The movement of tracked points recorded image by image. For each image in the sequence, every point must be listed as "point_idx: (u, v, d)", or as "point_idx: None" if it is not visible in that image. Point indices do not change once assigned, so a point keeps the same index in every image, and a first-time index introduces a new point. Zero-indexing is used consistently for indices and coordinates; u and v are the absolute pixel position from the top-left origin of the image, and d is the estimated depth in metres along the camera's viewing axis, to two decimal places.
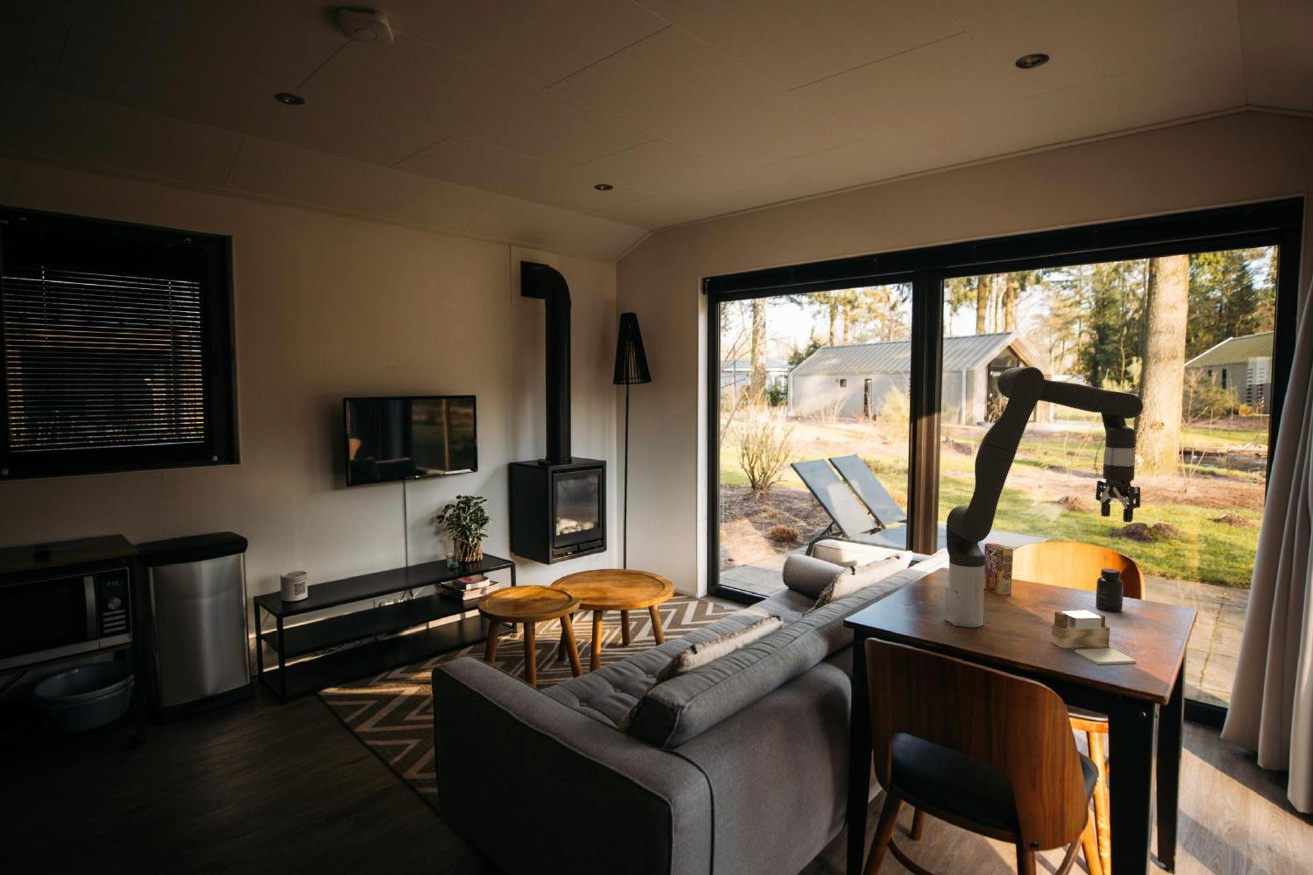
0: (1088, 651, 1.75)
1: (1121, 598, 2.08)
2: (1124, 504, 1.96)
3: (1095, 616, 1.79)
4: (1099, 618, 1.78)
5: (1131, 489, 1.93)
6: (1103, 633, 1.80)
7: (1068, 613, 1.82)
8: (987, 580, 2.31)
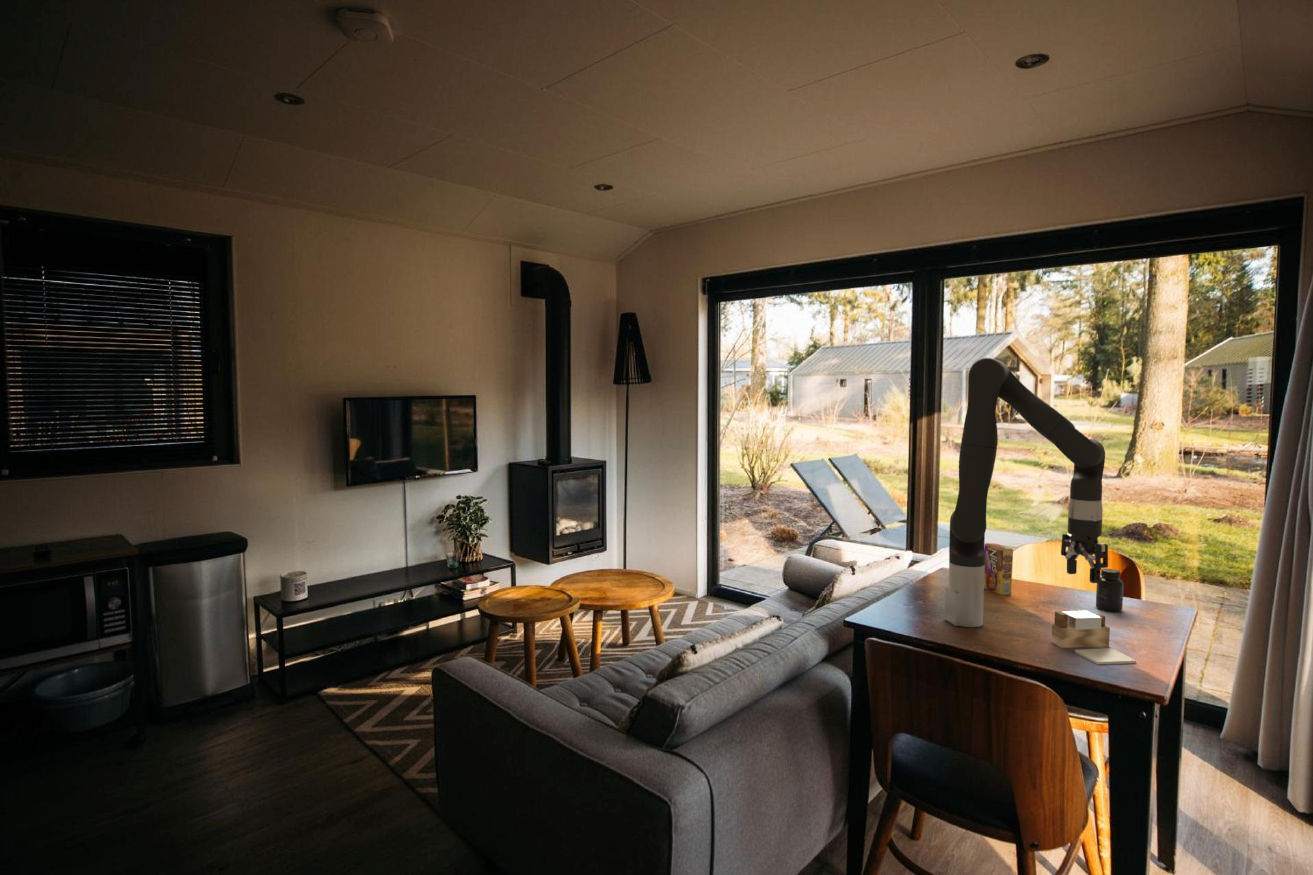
0: (1088, 651, 1.75)
1: (1121, 598, 2.08)
2: (1090, 563, 1.76)
3: (1095, 616, 1.79)
4: (1099, 618, 1.78)
5: (1098, 547, 1.73)
6: (1103, 633, 1.80)
7: (1068, 613, 1.82)
8: (987, 580, 2.31)
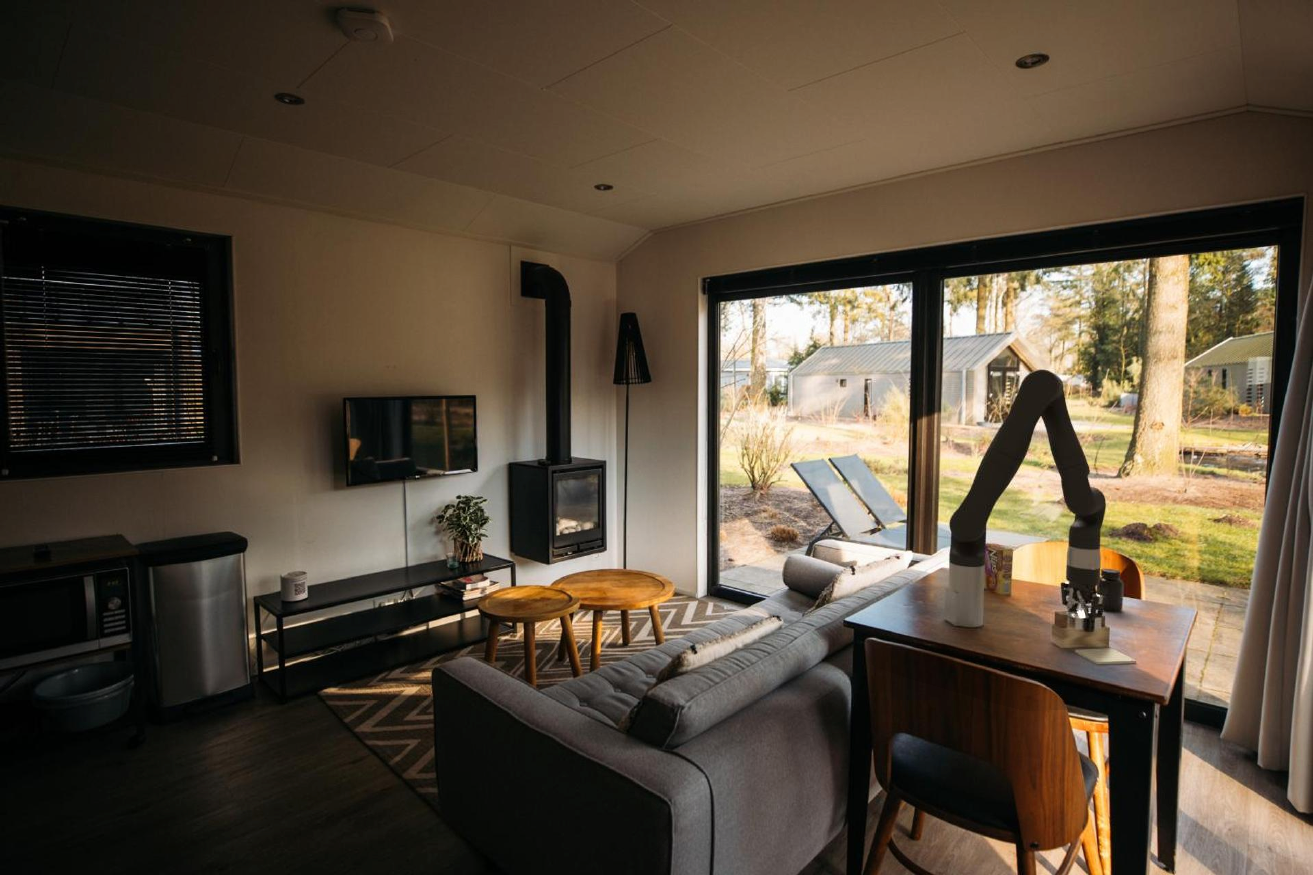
0: (1088, 651, 1.75)
1: (1121, 598, 2.08)
2: (1085, 612, 1.77)
3: None
4: (1099, 618, 1.78)
5: (1095, 599, 1.74)
6: (1103, 633, 1.80)
7: (1068, 613, 1.82)
8: (987, 580, 2.31)
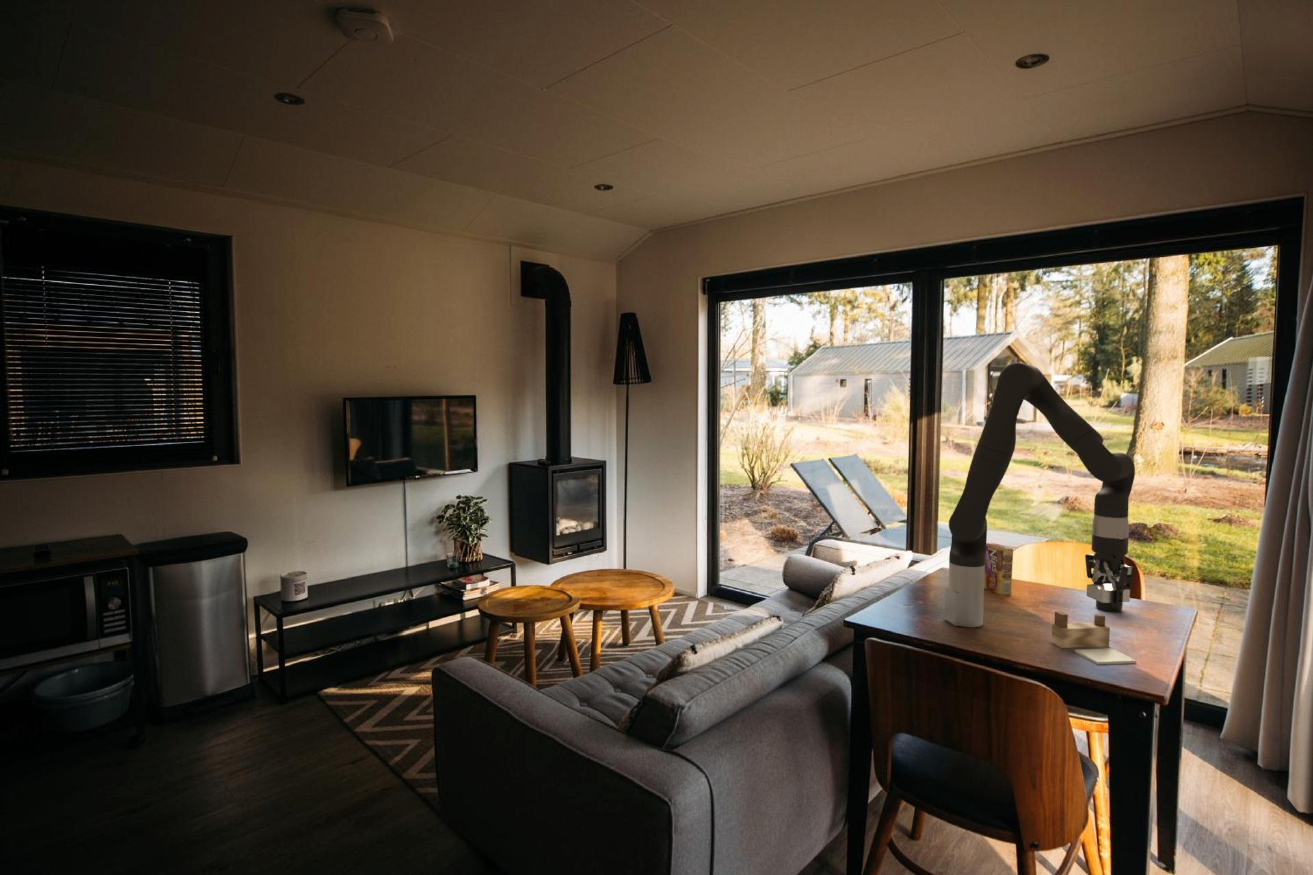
0: (1088, 651, 1.75)
1: None
2: (1113, 584, 1.68)
3: None
4: (1127, 590, 1.69)
5: (1124, 570, 1.65)
6: (1103, 633, 1.80)
7: (1094, 586, 1.72)
8: (987, 580, 2.31)
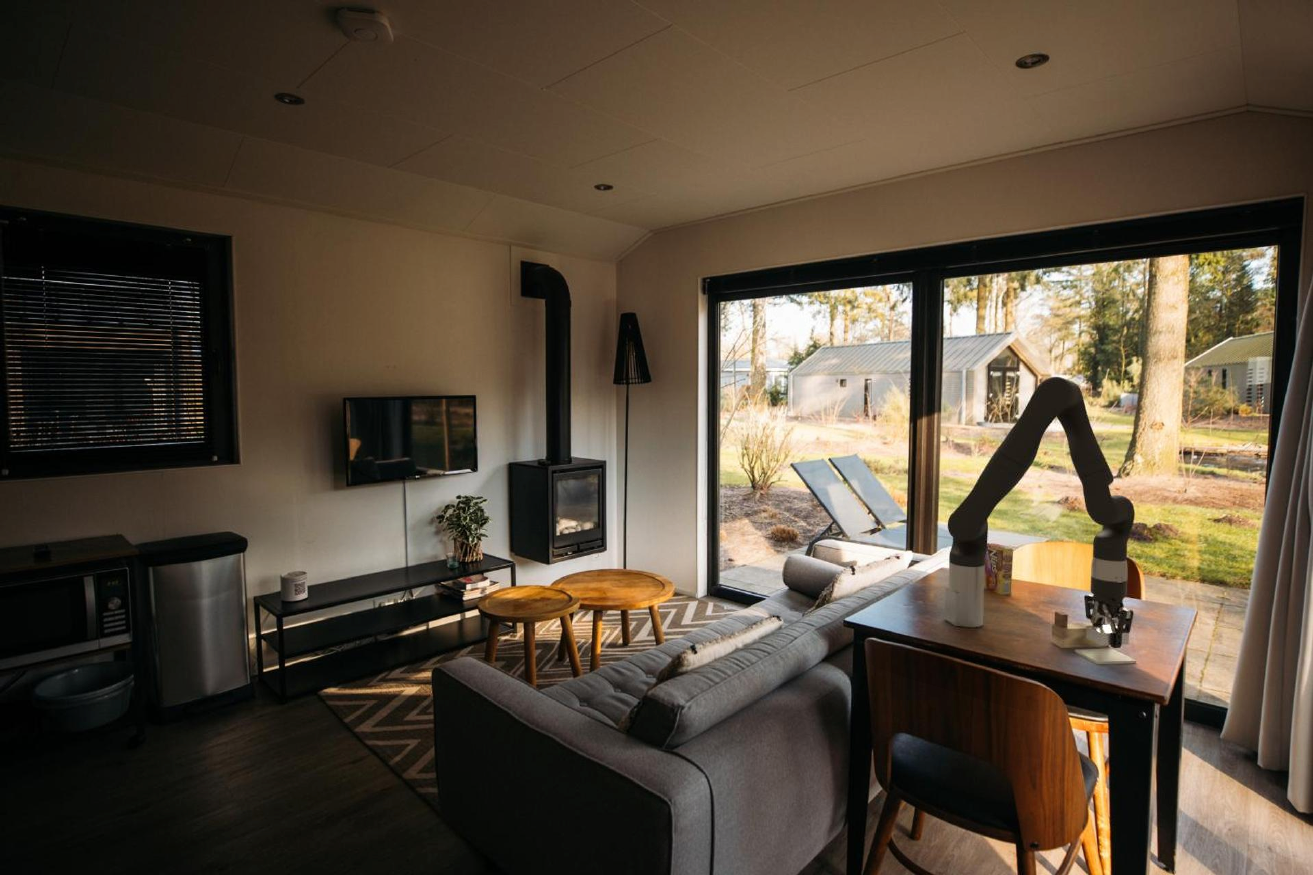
0: (1088, 651, 1.75)
1: None
2: (1112, 627, 1.69)
3: None
4: (1126, 633, 1.70)
5: (1123, 614, 1.65)
6: None
7: (1093, 628, 1.73)
8: (987, 580, 2.31)
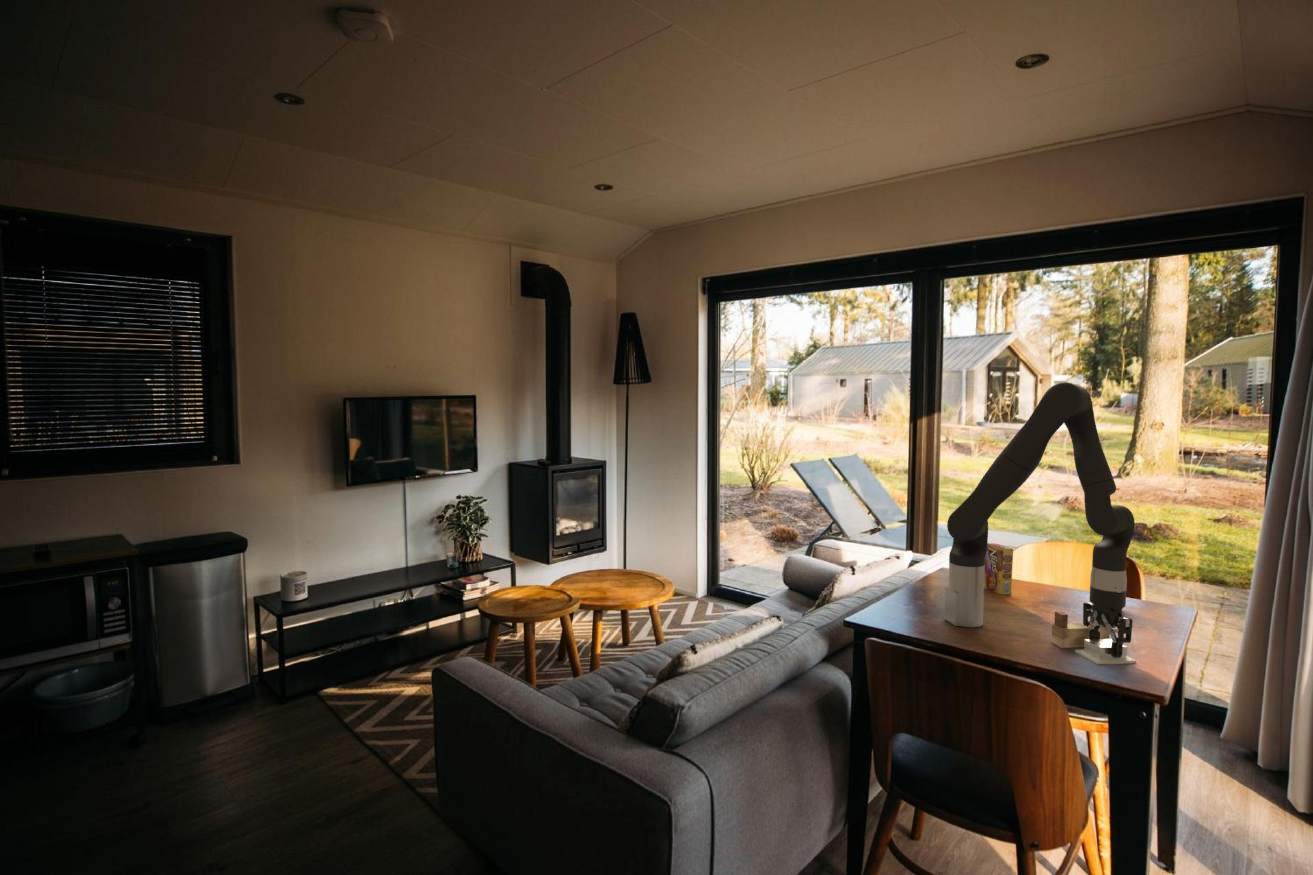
0: None
1: None
2: (1112, 637, 1.68)
3: None
4: (1125, 647, 1.70)
5: (1122, 622, 1.65)
6: (1103, 633, 1.80)
7: (1092, 642, 1.73)
8: (987, 580, 2.31)
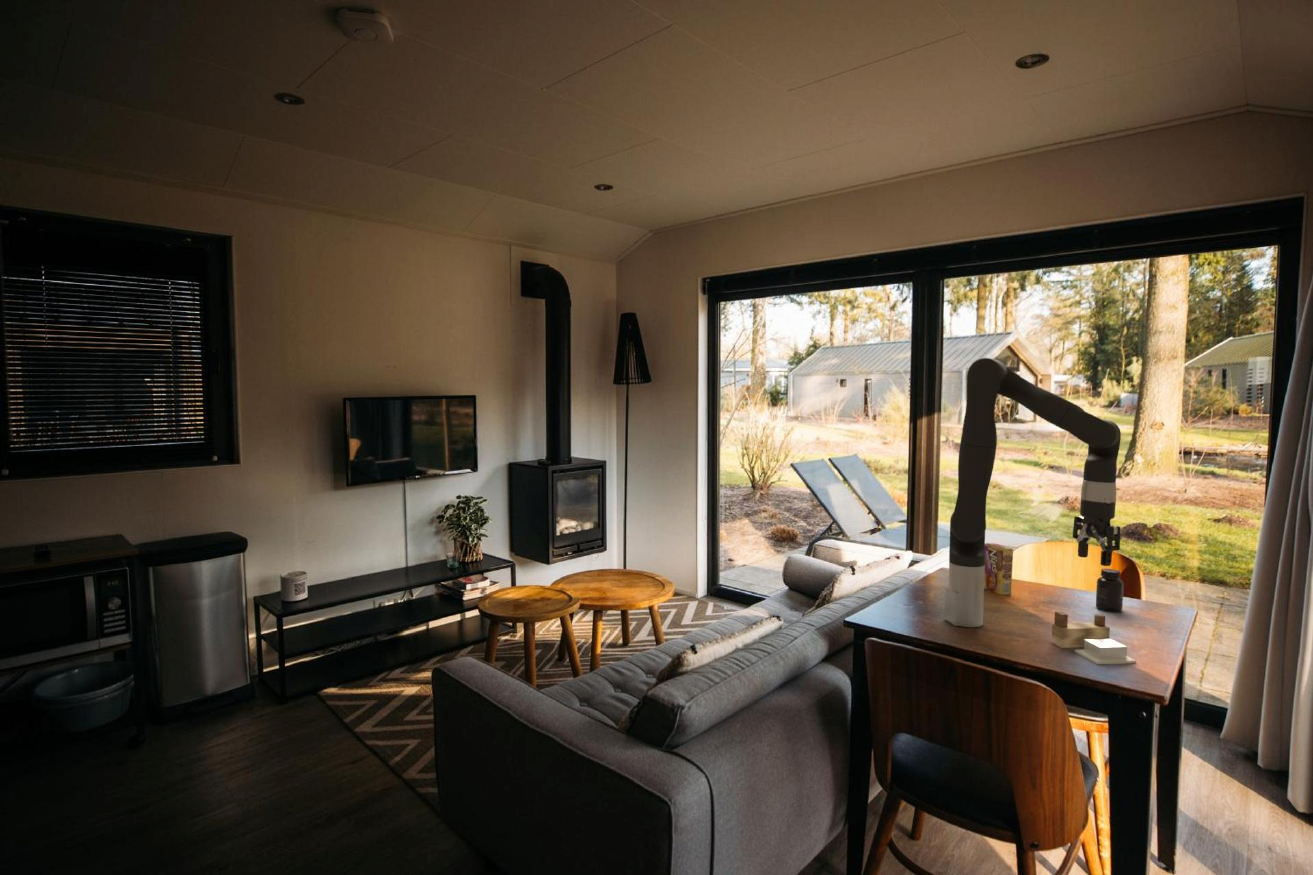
0: None
1: (1121, 598, 2.08)
2: (1102, 545, 1.73)
3: (1120, 645, 1.71)
4: (1125, 647, 1.70)
5: (1110, 529, 1.70)
6: (1103, 633, 1.80)
7: (1092, 642, 1.73)
8: (987, 580, 2.31)
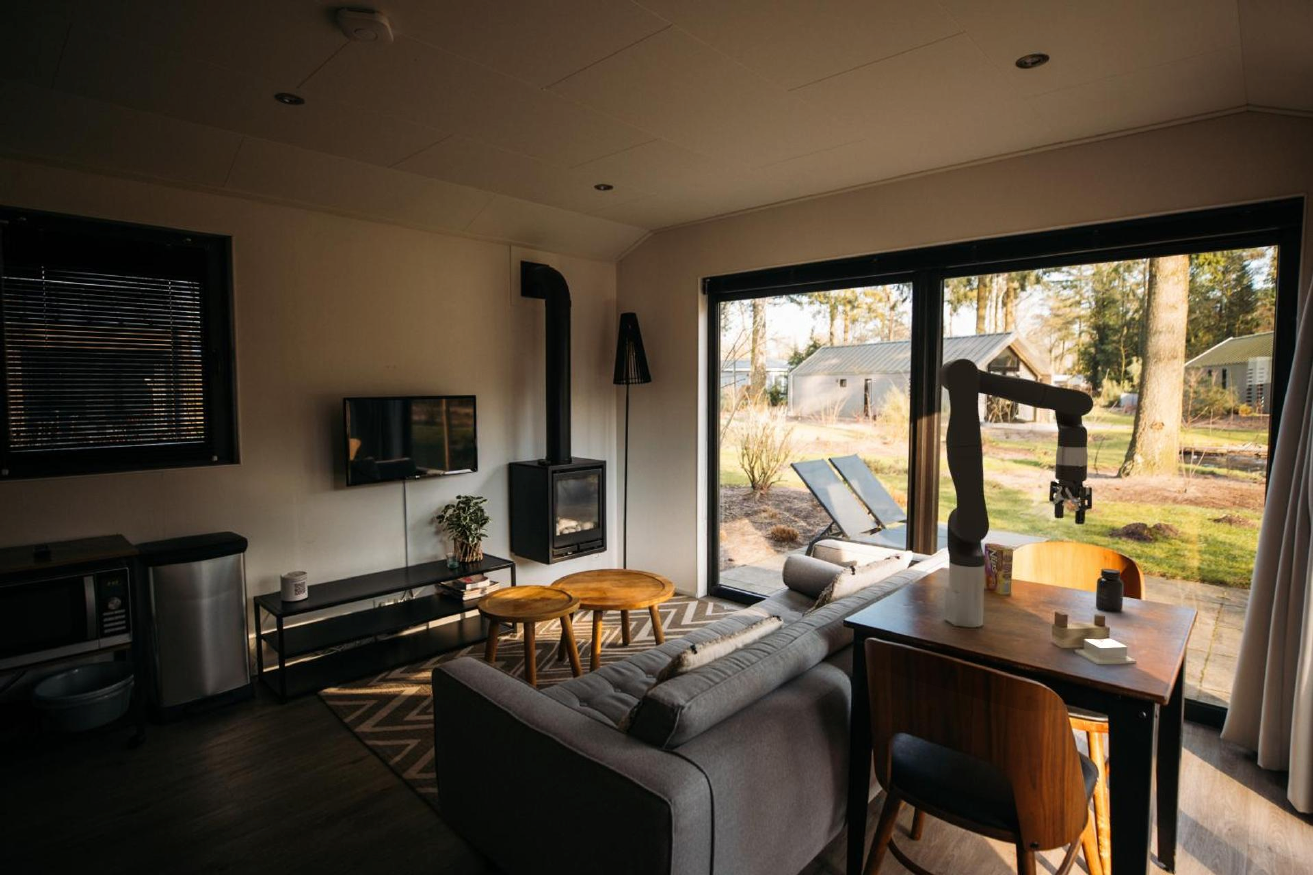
0: None
1: (1121, 598, 2.08)
2: (1076, 505, 1.88)
3: (1120, 645, 1.71)
4: (1125, 647, 1.70)
5: (1082, 490, 1.86)
6: (1103, 633, 1.80)
7: (1092, 642, 1.73)
8: (987, 580, 2.31)
